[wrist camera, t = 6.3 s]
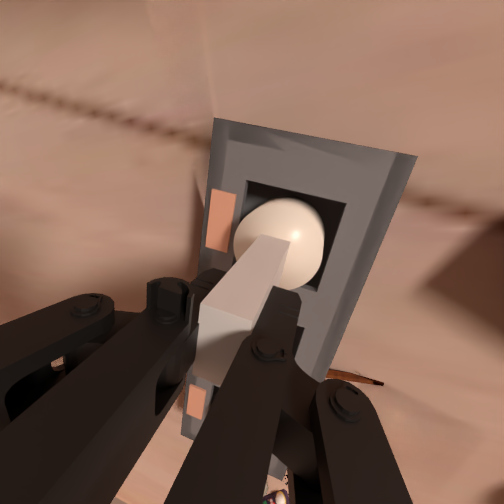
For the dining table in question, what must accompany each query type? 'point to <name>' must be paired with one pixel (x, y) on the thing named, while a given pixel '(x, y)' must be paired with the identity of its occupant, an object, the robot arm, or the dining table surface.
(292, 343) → the robot arm
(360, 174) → the console
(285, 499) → the purple toy box
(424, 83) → the dining table surface
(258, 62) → the dining table surface
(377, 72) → the dining table surface
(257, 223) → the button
